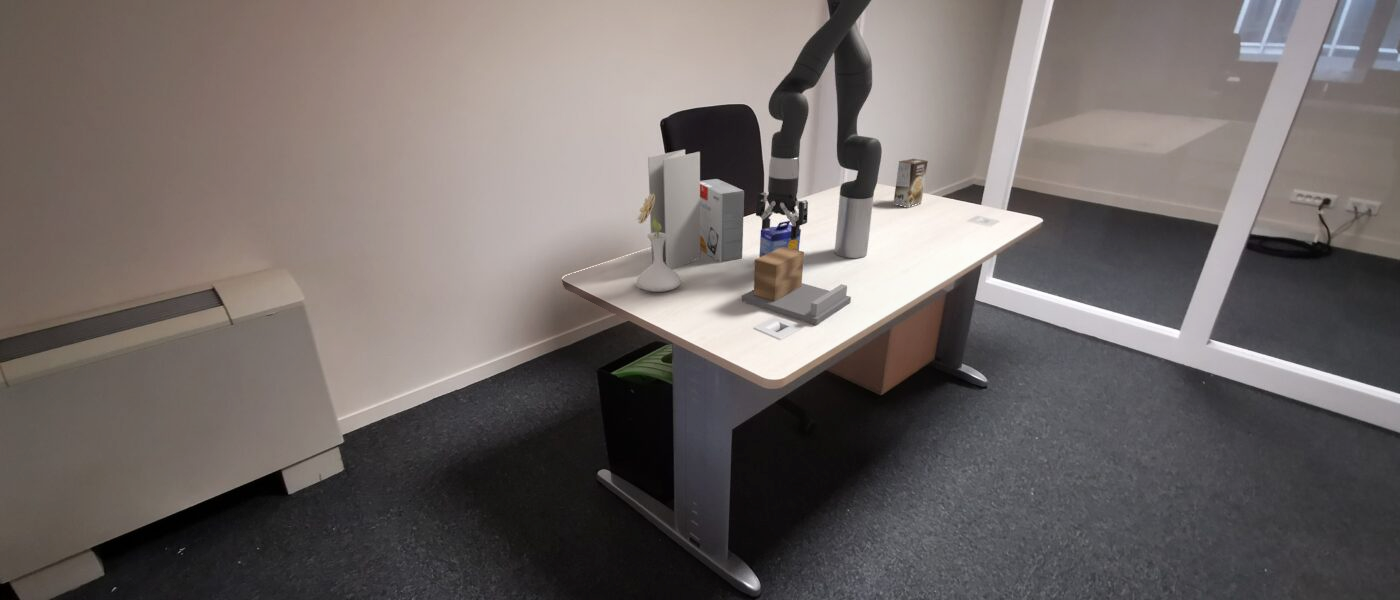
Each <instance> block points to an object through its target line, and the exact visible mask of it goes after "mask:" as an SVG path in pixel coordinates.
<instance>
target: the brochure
mask: <svg viewBox="0 0 1400 600" xmlns="http://www.w3.org/2000/svg"><path fill="white" fill-rule="evenodd" d="M647 164H648V167H647V168H648V191H649V195H650V193H651V195H653V193H654V195H655V203H654V205H653V208H652V211H653V213H654V215H655V217H656V219H657V221H658V223H659V224H660V225H661V227H662V228H661V230H660V231H659V232H661V233H666V234H667V235H668V236H667V238H666V239H665V241H664V244H663V262H665V265H666V266H667V267H669V268H670V269H672V270H674V269H677V268H679V266H680V267H682V266H684V265H687V264H689V263H692V262H694V261H696V260H698V258H699V259H700V258H701V249H700V181H701V151H696V152H693V153H692V152H691V153H687V154H686V149H680V150H674V151H671V152H666V153H662V154H658V155H653V156H648V157H647ZM649 195H648V196H649ZM654 219H655V218H654V216H653V214H652V213H650V214H649V221H650V233H655V232H656V230H655V229H654V228H653V227H652V226H651V224H652V222H653V220H654ZM650 248H651V249H650V251H651V252H650V253H651V265H652V264H653V260H654V253H653V247H652V243H651V242H650ZM695 259H696V260H695ZM693 260H694V261H693ZM686 263H687V264H686Z"/></svg>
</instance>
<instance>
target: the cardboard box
mask: <svg viewBox="0 0 1400 600" xmlns="http://www.w3.org/2000/svg"><path fill="white" fill-rule="evenodd" d="M804 254H805V253H804V251H802V250H799V251H798V250H794V249H790V248H786V247H781V248H779V249H777V250H775V251H772V252H770V253H768V254H766V255H764V256H762V257H758V258H755V259H754V274H753V275H754V276H753V290H754V295H756V296H759V297H762V298H766V299H769V300H772V301H776V300H778V299H779V298H781V297H783V296H785V295H787V294H788V293H790V292H792V291H794V290H795V289H797V288H799V287H801V285H802V283H803V270H804V269H803V268H804Z"/></svg>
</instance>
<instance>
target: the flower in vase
mask: <svg viewBox="0 0 1400 600" xmlns="http://www.w3.org/2000/svg"><path fill="white" fill-rule="evenodd" d="M654 203H655V195H654V193H653V195H651V193H650V195H648V197H645V198H644V203H643V206H642V207H640V208H639V213H640V214H639V216H638V217H637V218H636V219H637V221H638V224H641V225H642V224H644V222H646V221H647V219H648V217H650V213H652V214H653V216H654V218H655V219H654V220H653V222H652V224H651V225H650V227H651V226H652V227H653V228H654V229H655V230H656V232H655V233H651V232H650V233H649V234H647V238H648V239H649V241H650V244H651V243H652V247H653V253H654V260H653V264H652V263H651V265H649V267H647V268H646V269H645V270H644V271H643V272H641V273H640V274H639V276H638V277H637V278H636V280H635V281H636V285H637V286H638V288H640V289H642V290H644V291H648V292H654V293H660V292H661V293H663V292H668V291H671V290H675V289H676V288H678V287H679V286H680V285H681V283H682V278H681V276H680V275H679V274H678V273H677V272H676V271H675V270H674V269H670V268H669V267H667V266H666V263H664V262H663V244H664V241H665V239H666V238H667V236H668V235H667V234H666V233H661V232H659V231H660V230H661V228H662V227H661V225H660V224H659V223H658V221H657V219H656V217H655V215H654V213H653V211H652V208H653V205H654Z"/></svg>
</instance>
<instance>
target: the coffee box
mask: <svg viewBox="0 0 1400 600" xmlns="http://www.w3.org/2000/svg"><path fill="white" fill-rule="evenodd" d="M928 162H929V161H928V160H924V159H917V158H910V159H904V160H903V159H902V160H900V161H898V166H897V175H896V182H895V190H894V196H893V202H892V203H893V204H898V205H902V206H906V207H909V206H912V205H915V204H918V203H921V204H922V200H923V194H924V187H925V183H926V182H925V181H926V174H927V169H928V168H927V167H928ZM893 204H892V205H893ZM909 208H910V207H909Z"/></svg>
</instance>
